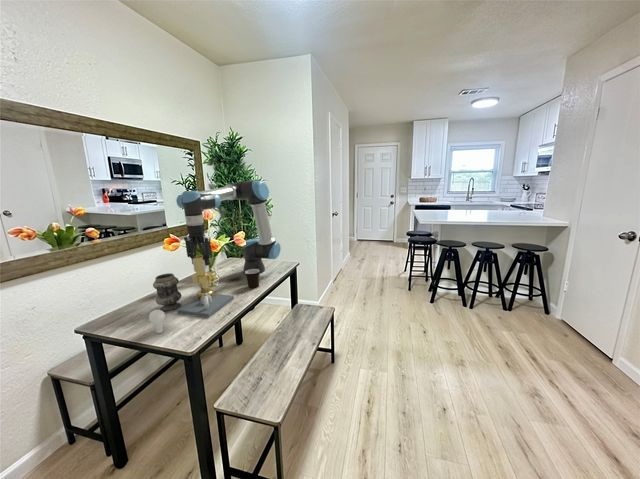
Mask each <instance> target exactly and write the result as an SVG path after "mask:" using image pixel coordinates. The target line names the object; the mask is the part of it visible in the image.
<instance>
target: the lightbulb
mask: <svg viewBox="0 0 640 479" xmlns="http://www.w3.org/2000/svg"><path fill="white" fill-rule="evenodd" d="M165 318H166V312H163V311H162V310H160V309H154V310H153V311H151V312H150V314H149V315H148V320H149V322H150V323H151V324H152V325H153V327H154V329H155V333H157V334H161V333H162V332H164V328H163V327H164V320H165Z"/></svg>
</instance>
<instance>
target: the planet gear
mask: <svg viewBox="0 0 640 479" xmlns="http://www.w3.org/2000/svg"><path fill="white" fill-rule="evenodd" d="M202 259H204V258H203V255H202V254H201V255H196V256H195V257H194V261H195V268H196V272H195V273H194V274H193V275H192V276H191V279H192V282H193V283H195V284H199V283H205V282H208V281H209V282H211V281H213V280H212V279H213V272H212V271H211V272H210V270H209V271H208V272H206V273H205V272H204V268H203V260H202Z"/></svg>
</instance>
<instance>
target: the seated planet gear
mask: <svg viewBox="0 0 640 479" xmlns="http://www.w3.org/2000/svg"><path fill="white" fill-rule="evenodd" d="M198 284H199V290H198V292H196V296H197V297H196V298H199V299H200V300H201V298H202V297H203V296H204V295H203V294H204V293H208V295H209V296H211V297H214V295H215V294H216V292H215V289H212V288H211V287H210V286H211V284H210V281H208V282H205V283H198Z"/></svg>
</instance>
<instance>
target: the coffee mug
mask: <svg viewBox="0 0 640 479" xmlns="http://www.w3.org/2000/svg"><path fill="white" fill-rule="evenodd" d="M244 274H245V277H246V282H247V286H248V289H251V290H253V289H257V288H259V287H260V273H259V270H258V269H250V270H247V271H245V273H244Z"/></svg>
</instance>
